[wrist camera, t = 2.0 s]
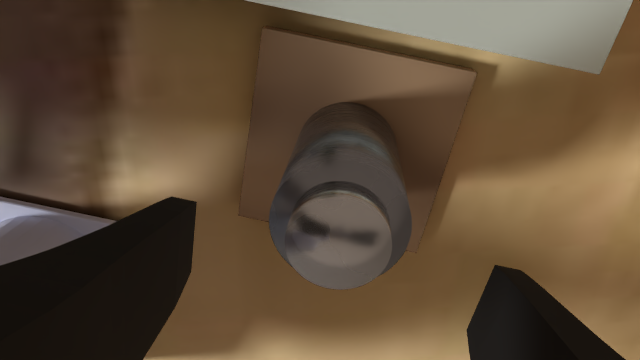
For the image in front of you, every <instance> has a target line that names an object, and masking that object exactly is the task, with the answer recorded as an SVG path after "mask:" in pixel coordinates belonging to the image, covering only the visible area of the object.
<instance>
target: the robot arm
mask: <svg viewBox="0 0 640 360" xmlns="http://www.w3.org/2000/svg"><path fill="white" fill-rule="evenodd" d="M196 203H197V202H194V201H190V200H185V199H180V198H175V197H169V198H167V199H164V200H162V201H160V202H157V203H155V204H153V205H151V206H149V207H147V208H145V209H142V210H140V211H138V212H136V213H134V214H132V215H130V216H128V217H125V218H123V219H121V220H119V221H114V220H109V219H105V218H100V217H95V216H90V215H86V214H81V213H76V212H71V211H67V210H62V209H57V208H52V207H48V206H43V205H38V204H33V203H28V202H24V201H19V200H14V199H9V198H5V197H0V360H143V358H144V357H145V355H146V353H147V352H148V350H149V349H150V347H151V345H152V344H153V342H154V341H155V339H156V337H157V336H158V334H159V333H160V331H161V329H162V328H163V326H164V324H165V323H166V321H167V320H168V318H169V316H170V315H171V313H172V311H173V310H174V308H175V306H176V304H177V302H178V300H179V298H180V295H181V293H182V291H183V289H184V287H185V284H186V282H187V280H188V277H189V275H190V273H191V266H192V253H193V241H194V228H195V216H196ZM467 336H468V345H469V353H470V360H625V359H624V358H623V357H622V356H620V355H619V354H618V353H617V352H616V351H614V350H613V349H612V348H611V347H610V346H608V345H607V344H606V343H605V342H604V341H602V340H601V339H600V338H599V337H598V336H597V335H595V334H594V333H593V332H592V331H591V330H590V329H589V328H587V327H586V326H585V325H584V324H583V323H582V322H581V321H579V320H578V319H577V318H576V317H575V316H574V315H573V314H572V313H570V312H569V311H568V310H567V309H566V308H565V307H564V306H563V305H562V304H560V303H559V302H558V301H557V300H556V299H555V298H554V297H553V296H551V295H550V294H549V293H548V292H547V291H546V290H545V289H543V288H542V287H541V286H540V285H539V284H538V283H536V282H535V281H534V280H533V279H532V278H530V277H529V276H528V275H526V274H525V273H524V272H522V271H521V270H517V269H512V268H507V267H503V266H498V265H495V266H494V269H493V271H492V273H491V275H490V278H489V280H488V282H487V285H486V287H485V289H484V292H483V294H482V296H481V298H480V301H479V303H478V305H477V308H476V310H475V312H474V314H473V317H472V319H471V321H470V324H469V326H468V328H467Z"/></svg>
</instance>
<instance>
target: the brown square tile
mask: <svg viewBox="0 0 640 360" xmlns="http://www.w3.org/2000/svg"><path fill="white" fill-rule="evenodd" d="M476 75H477V72H476V71H474V70H473V69H471V68H466V67H461V66H456V65H452V64H447V63H442V62H437V61H433V60H428V59H423V58H418V57H414V56H409V55H404V54H399V53H395V52H390V51H385V50H380V49H375V48H371V47H366V46H361V45H356V44H352V43H347V42H342V41H337V40H333V39H328V38H323V37H318V36H313V35H309V34H304V33H299V32H294V31H290V30H285V29H280V28H275V27H271V26H265V27H263V28H262V34H261V42H260V49H259V57H258V65H257V73H256V81H255V89H254V96H253V104H252V112H251V120H250V128H249V136H248V143H247V151H246V159H245V167H244V175H243V183H242V190H241V198H240V206H239V214H238V216H243V217H248V218H253V219H257V220H262V221H267V222H269V213H270V208H271V204H272V201H273V199H274V196H275V194H276V191H277V189H278V186H279V184H280V182H281V179H282V177H283V174H284V172H285V169H286V167H287V164H288V162H289V159H290V157H291V154H292V152H293V149H294V147H295V144H296V142H297V139H298V137H299V134H300V132H301V129H302V128H303V126H304V124H305V123H306V121H307V120H308V119H309V118H310V117H311V116H312V115H313V114H314V113H315V112H317V111H318V110H320V109H322V108H323V107H325V106H328V105H331V104H334V103H340V102H353V103H359V104H363V105H366V106H368V107H370V108H372V109H374V110H375V111H377V112H378V113H379V114H381V115H382V116H383V117H384V118H385V119H386V120H387V122H388V123H389V125H390V126H391V128H392V130H393V132H394V135H395V138H396V143H397V148H398V153H399V158H400V162H401V167H402V172H403V177H404V182H405V187H406V192H407V197H408V202H409V206H410V211H411V216H412V232H411V237H410V241H409V243H408V246H407V248H406V250H405V251H410V252H415V253H417V250H418V247H419V244H420V241H421V238H422V235H423V232H424V229H425V226H426V223H427V220H428V217H429V214H430V211H431V208H432V205H433V202H434V199H435V196H436V193H437V190H438V187H439V185H440V182H441V179H442V176H443V173H444V170H445V167H446V164H447V161H448V158H449V155H450V152H451V149H452V146H453V143H454V140H455V137H456V134H457V131H458V128H459V125H460V122H461V119H462V117H463V114H464V111H465V108H466V105H467V102H468V99H469V96H470V93H471V90H472V87H473V84H474V81H475V78H476Z"/></svg>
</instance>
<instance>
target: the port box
mask: <svg viewBox="0 0 640 360" xmlns="http://www.w3.org/2000/svg"><path fill="white" fill-rule="evenodd" d="M246 1H251V2H255V3H260V4H265V5H270V6H274V7H279V8H284V9H289V10H293V11H298V12H303V13H308V14H312V15H317V16H322V17H327V18H332V19H336V20H341V21H346V22H351V23H355V24H360V25H365V26H370V27H374V28H379V29H384V30H389V31H394V32H398V33H403V34H408V35H413V36H417V37H422V38H427V39H432V40H436V41H441V42H446V43H451V44H456V45H460V46H465V47H470V48H475V49H479V50H484V51H489V52H494V53H498V54H503V55H508V56H513V57H518V58H522V59H527V60H532V61H537V62H541V63H546V64H551V65H556V66H560V67H565V68H570V69H575V70H580V71H584V72H589V73H594V74H600V72H601V70H602V68H603V65H604V63H605V61H606V59H607V57H608V54H609V52H610V50H611V48H612V46H613V43H614V41H615V39H616V37H617V35H618V32H619V30H620V28H621V26H622V24H623V22H624V19H625V17H626V15H627V13H628V11H629V8H630V6H631V4H632V2H633V0H246Z"/></svg>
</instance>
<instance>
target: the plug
mask: <svg viewBox="0 0 640 360" xmlns="http://www.w3.org/2000/svg"><path fill="white" fill-rule="evenodd" d="M269 228H270V233H271V237H272V239H273V242H274V244H275V246H276V248H277V250H278V252H279V253H280V254H281V256H282V257H283V258H284V259H285V260H286V262H287V263H288V264H290V265H291V266H292V267H293V268H294V269H295V270H296V271H297V272H298V273H299V274H300V275H301V276H302V277H303V278H305V279H306V280H308V281H310V282H311V283H313V284H316V285H318V286H321V287H325V288H329V289H339V290H342V289H352V288H356V287H360V286H362V285H365V284H367V283H369V282H370V281H372V280H373V279H375V278H376V277H378V276H379V275H381V274H383V273H385V272H386V271H387V270H389V269H390V268H391V267H392V266H393V265H395V264H396V263H397V262H398V260H399V259H400V258H401V257H402V255H403V253H404V252H405V250H406V248H407V246H408V243H409V241H410V237H411V232H412V216H411V211H410V206H409V202H408V197H407V192H406V187H405V182H404V177H403V172H402V167H401V162H400V158H399V153H398V148H397V143H396V138H395V135H394V132H393V130H392V128H391V126H390V125H389V123H388V122H387V120H386V119H385V118H384V117H383V116H382V115H381V114H379V113H378V112H377V111H375V110H374V109H372V108H370V107H368V106H366V105H363V104H359V103H353V102H340V103H334V104H331V105H328V106H325V107H323V108H322V109H320V110H318V111H317V112H315V113H314V114H313V115H312V116H311V117H310V118H309V119H308V120H307V121H306V123H305V124H304V126H303V128H302V129H301V132H300V134H299V137H298V139H297V142H296V144H295V147H294V149H293V152H292V154H291V157H290V159H289V162H288V164H287V167H286V169H285V172H284V174H283V177H282V179H281V182H280V184H279V186H278V189H277V191H276V194H275V196H274V199H273V201H272V204H271V208H270V213H269Z"/></svg>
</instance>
